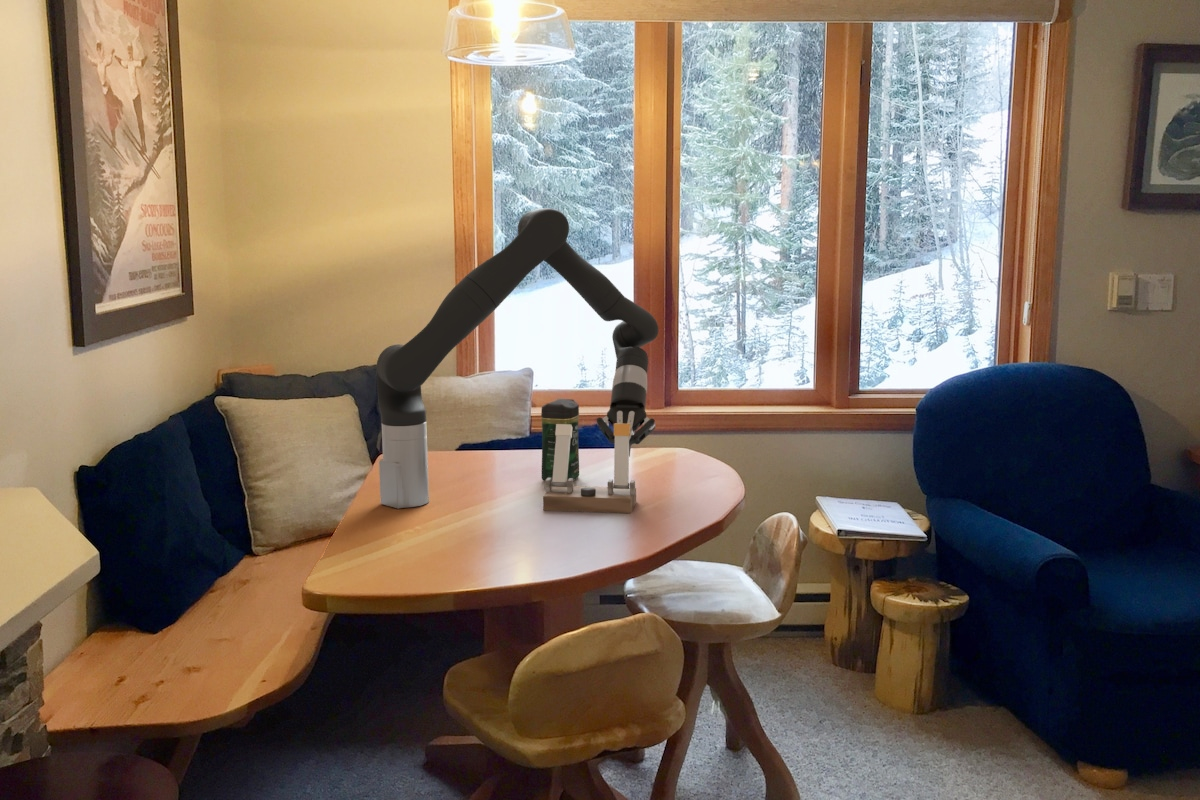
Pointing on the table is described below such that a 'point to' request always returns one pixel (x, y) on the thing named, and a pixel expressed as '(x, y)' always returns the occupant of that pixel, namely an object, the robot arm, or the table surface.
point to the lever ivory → (561, 455)
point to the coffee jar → (550, 416)
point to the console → (589, 498)
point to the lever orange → (621, 456)
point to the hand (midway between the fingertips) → (622, 458)
